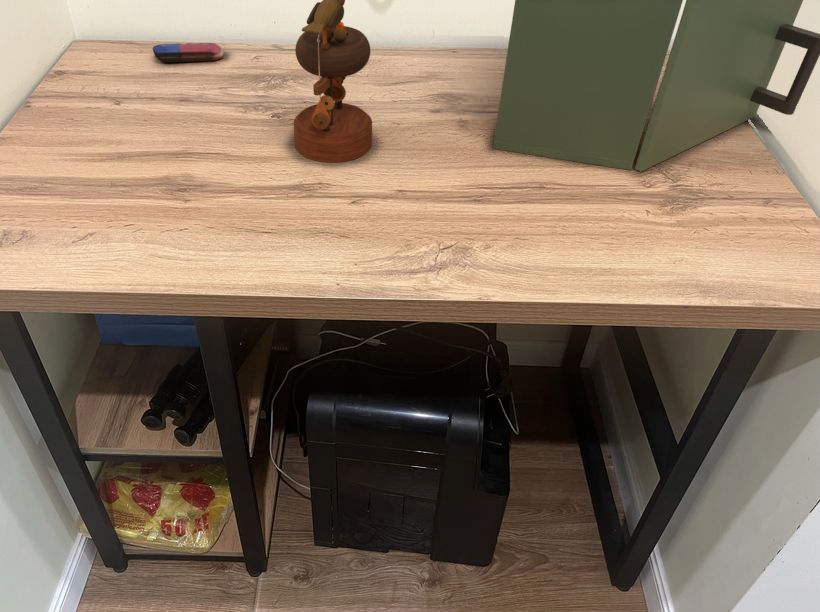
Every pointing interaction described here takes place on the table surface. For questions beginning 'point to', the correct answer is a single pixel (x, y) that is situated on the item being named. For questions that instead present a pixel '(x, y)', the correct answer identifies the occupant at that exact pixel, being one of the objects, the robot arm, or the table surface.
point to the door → (724, 72)
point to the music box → (332, 87)
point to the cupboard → (582, 77)
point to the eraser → (188, 52)
